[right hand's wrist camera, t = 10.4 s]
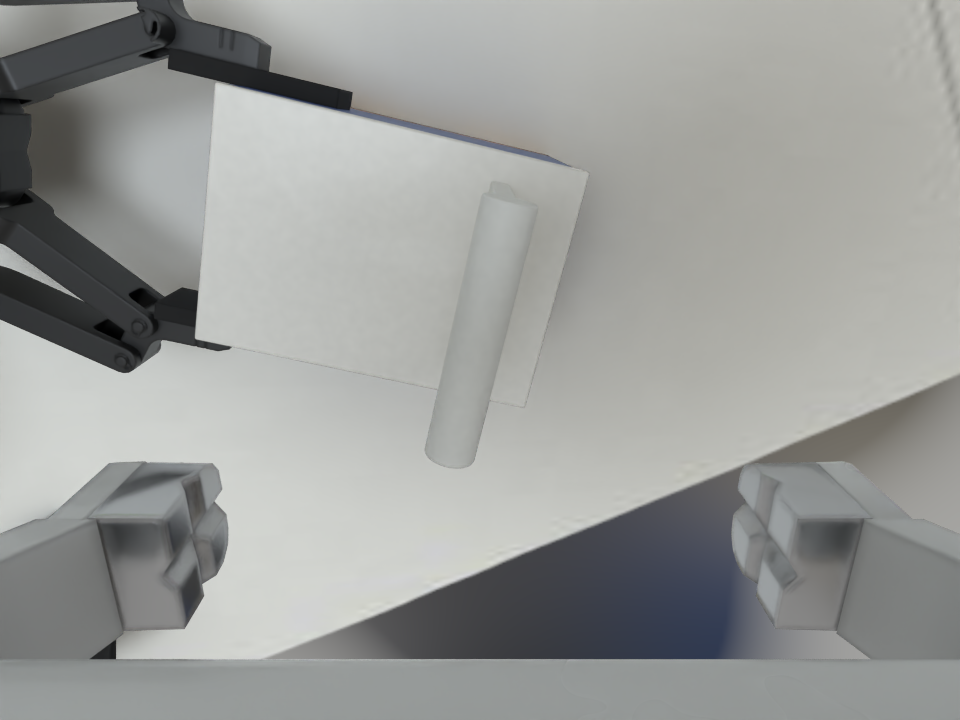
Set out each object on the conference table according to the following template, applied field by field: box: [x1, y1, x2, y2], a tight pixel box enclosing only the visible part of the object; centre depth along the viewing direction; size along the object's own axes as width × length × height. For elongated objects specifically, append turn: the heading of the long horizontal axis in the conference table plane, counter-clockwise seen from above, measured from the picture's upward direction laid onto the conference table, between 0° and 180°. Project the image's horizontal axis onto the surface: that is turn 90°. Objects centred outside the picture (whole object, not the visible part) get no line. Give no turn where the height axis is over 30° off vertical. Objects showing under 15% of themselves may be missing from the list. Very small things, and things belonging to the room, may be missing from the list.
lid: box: [195, 83, 589, 468], centre depth 21 cm, size 13×10×8 cm
